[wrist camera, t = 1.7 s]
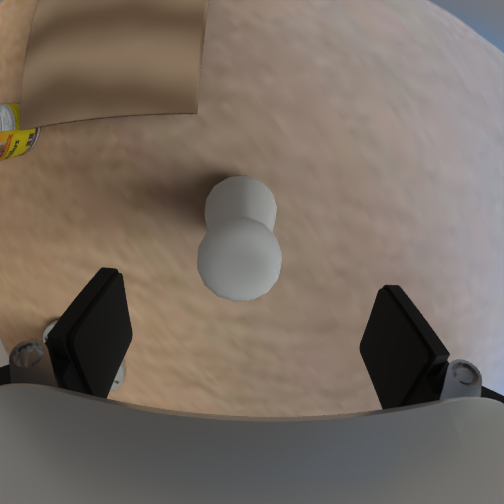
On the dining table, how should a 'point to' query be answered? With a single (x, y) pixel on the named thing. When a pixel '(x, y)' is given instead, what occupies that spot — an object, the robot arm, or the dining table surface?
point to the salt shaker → (239, 240)
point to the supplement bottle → (14, 132)
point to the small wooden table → (112, 60)
